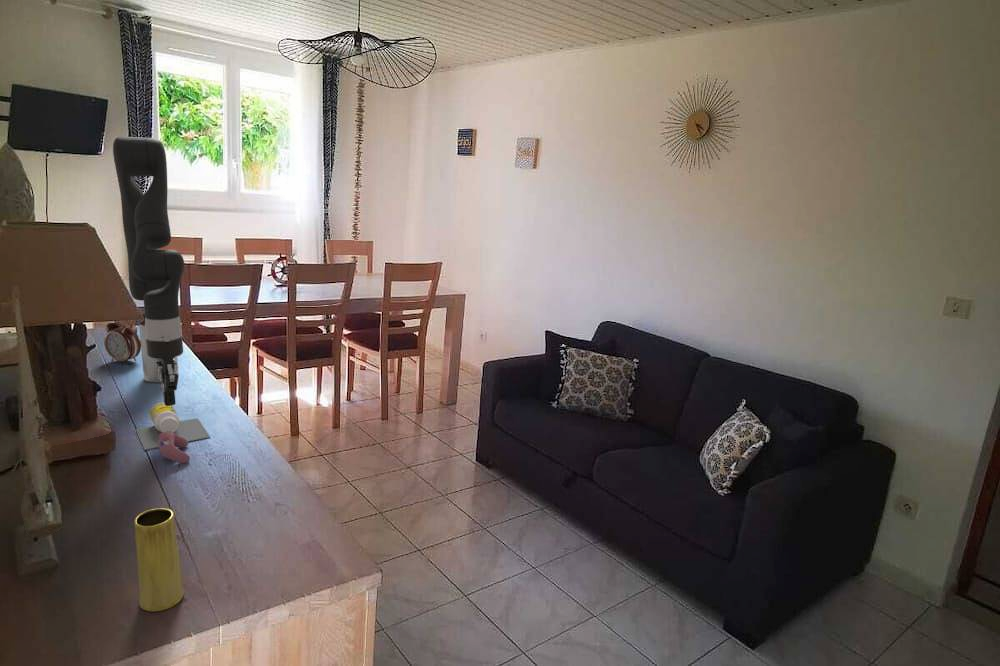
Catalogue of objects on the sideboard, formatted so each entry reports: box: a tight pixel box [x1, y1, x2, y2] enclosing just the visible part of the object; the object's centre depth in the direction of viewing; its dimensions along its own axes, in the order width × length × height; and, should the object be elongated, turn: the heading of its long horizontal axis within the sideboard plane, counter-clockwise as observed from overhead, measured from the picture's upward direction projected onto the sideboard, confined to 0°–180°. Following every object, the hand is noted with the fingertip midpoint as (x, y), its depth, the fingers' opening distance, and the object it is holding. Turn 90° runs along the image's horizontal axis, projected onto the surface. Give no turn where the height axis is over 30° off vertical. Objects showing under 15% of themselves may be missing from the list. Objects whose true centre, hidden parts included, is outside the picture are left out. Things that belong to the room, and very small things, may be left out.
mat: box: [135, 417, 211, 451], centre depth 152 cm, size 13×14×1 cm
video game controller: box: [158, 430, 191, 464], centre depth 141 cm, size 10×5×7 cm, turn 28°
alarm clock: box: [103, 322, 141, 365], centre depth 198 cm, size 11×5×15 cm, turn 73°
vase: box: [133, 507, 185, 612], centre depth 95 cm, size 6×6×14 cm
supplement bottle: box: [149, 402, 180, 432], centre depth 153 cm, size 5×5×10 cm
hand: (169, 404), depth 151 cm, fingers closed
